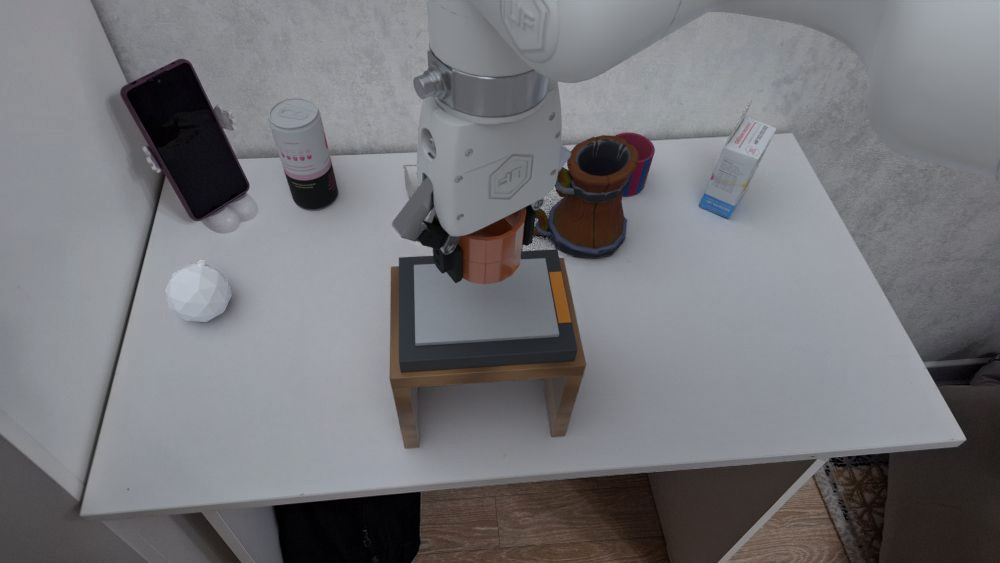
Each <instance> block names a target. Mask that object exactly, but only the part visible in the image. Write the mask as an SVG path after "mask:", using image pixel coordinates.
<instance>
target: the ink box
mask: <svg viewBox="0 0 1000 563" xmlns="http://www.w3.org/2000/svg"><path fill="white" fill-rule="evenodd" d="M753 101H754V99H753V98H752V99H750V101H749V102H748V104H747V105H746V107H745V108H744V109H743V111H742V113H741V115H740V116H739V118H738V119H737V120H736V122H735V124H734V125H733V127H732V129H731V131H730V134H729V136H728V138H727V139H726V142H725V144H724V146H723V148H722V150H721V153H720V155H719V157H718V159H717V162H716V164H715V167H714V169H713V171H712V174H711V176H710V179H709V181H708V183H707V186H706V189H705V191H704V193H703V195H702V197H701V200H700V202H699V204H698V207H699V208H701V209H704V210H706V211H709V212H711V213H713V214H716V215H718V216H721V217H723V218H725V219H726V220H729V219H730V218H731V216H732V214H733V212H734V210H735V209H736V207H737V206H738V204H739V202H740V200H741V199H742V197H743V196H744V195H745V193H746V191H747V189H748V187H749V185H750V183H751V181H752V178H753V177H754V175H755V173H756V171H757V169H758V167H759V164H760V163H761V161H762V159H763V157H764V156H765V153H766V152H767V149H768V147H769V145H770V143H771V141H772V140H773V138H774V135H775V133H776V131H777V127H775V126H772V125H770V124H766V123H765V122H762V121H759V120H757V119H754V118H752V117H749V116H747V114H748V111H749V109H750V107H751V105H752V103H753Z"/></svg>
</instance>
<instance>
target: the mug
mask: <svg viewBox="0 0 1000 563" xmlns="http://www.w3.org/2000/svg"><path fill="white" fill-rule="evenodd" d="M570 151H571V156H570V158H569V159H568V161H567V162H566V166H567V168H566V167H564V166H563V167H562V169H561V170H560V171H559V172H558V176H557V181H556V184H555V186H554V188H555V191H556V193H557V195H558V196H559V197H561V198H560V200H559V201H557V202H556V204H554V205H553V206H552V207H551V208H550V209H549V212H548V215H547V213H546V212H545V211H544V210H543V209H542V207H541V208H539V209H538V210H536V217H535V219H536V220H537V221H535V225H534V233H533V236H541V235H543V236H545V237H549V238H550V240H551V242H552V243H553V245H554V248H556V249H557V250H560V251H562V252H564V253H566V254H569V255H570V256H573V257H575V258H588V259H598V258H599V259H600V258H603V257H610V256H613V254H614V253H615V252H617V250H618V249H619V248H620V247H621V246H622V245H623V244H624V242H625V241H626V237H627V228H628V219H627V218H626V217H625V213H624V208H623V202H622V201H623V197H624V196H623V191H624V190H625V189H626V187H627V186H628V185H629V177H630V176H631V174H632V173H633V172H634V170H635V169H636V168H637V165H638V164H639V155H640V154H639V152H638V151H637V149H636V148H635V146H633V145H630V144H629V143H628V142H627V140H624V139H622V138H620V137H618V136H615V135H607V134H606V135H605V134H602V135H598V136H592V137H589V138H587V139H585V140H584V141H581V142H579V143H577V144H576V145H575V146H574V147H573V148H572V149H571V150H570Z"/></svg>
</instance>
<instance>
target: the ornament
mask: <svg viewBox="0 0 1000 563" xmlns="http://www.w3.org/2000/svg"><path fill="white" fill-rule="evenodd" d="M164 292H165V297H166V300H167V306H168V309H169V310H171V311H172V312H173V313H175V315H176V316H178V317H180V318H181V319H182V320H184V321H185V322H199V323H200V322H201V323H208V322H209V321H211V320H212V319H214V318H217V317H218V316H220V315H222V314H224V313H225V311H226V309H227V307H228V305H229V302H230V300H231V298H232V296H233V294H232V290H231V286H230V282H229V278H228V276H226V275H225V274H224V273H223V272H221V271H220V270H219V269H218V268H216V267H215V266H214V265H212V264H207V261H206V260H205V259H203V258H202V259H199V260H197V263H190V264H187V265H185V266H184V267H182V268H179V269H178V270H176V271H174V272H173V273H172V275H171V277H170V279H169V281H168V282H167V285H166V286H165V289H164Z"/></svg>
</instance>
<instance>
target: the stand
mask: <svg viewBox="0 0 1000 563" xmlns="http://www.w3.org/2000/svg"><path fill="white" fill-rule="evenodd" d="M559 261H560V266H561V270H562V275H563V280H564V285H565V290H566V295H567V300H568V305H569V310H570V315H571V320H572V325H573V330H574V335H575V340H576V345H577V349H578V350H577V354H576V358H575V361H568V362H553V363H538V364H524V365H509V366H494V367H479V368H464V369H450V370H435V371H420V372H405V373H401V371H400V366H399V265H396V266H395V265H393V266H391V267H390V298H389V299H390V303H389V305H390V306H389V308H390V310H389V311H390V313H389V314H390V315H389V383H390V387H391V390H392V391H391V392H392V395H393V396H392V397H393V400H394V405H395V410H396V414H397V419H398V424H399V429H400V434H401V438H402V444H403V447H404V449H417V448H420V428H419V426H420V424H419V420H420V419H419V388H425V387H440V386H453V385H456V386H457V385H469V384H483V383H484V384H485V383H497V382H512V381H524V380H527V381H528V380H542V387H543V393H544V400H545V405H546V411H547V412H546V413H547V417H548V418H547V419H548V424H549V431H550V436H551V438H557V437H565V436H566V435H567V431H568V428H569V424H570V420H571V417H572V414H573V410H574V407H575V404H576V401H577V397H578V394H579V391H580V388H581V384H582V381H583V377H584V374H585V371H586V367H587V362H586V358H585V357H586V356H585V353H584V348H583V343H582V339H581V333H580V329H579V328H580V327H579V324H578V320H577V315H576V310H575V304H574V300H573V296H572V290H571V286H570V281H569V276H568V271H567V267H566V262H565V257H559Z"/></svg>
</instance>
